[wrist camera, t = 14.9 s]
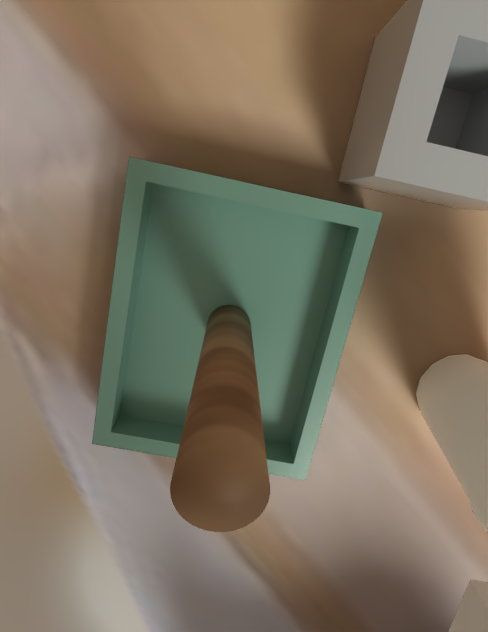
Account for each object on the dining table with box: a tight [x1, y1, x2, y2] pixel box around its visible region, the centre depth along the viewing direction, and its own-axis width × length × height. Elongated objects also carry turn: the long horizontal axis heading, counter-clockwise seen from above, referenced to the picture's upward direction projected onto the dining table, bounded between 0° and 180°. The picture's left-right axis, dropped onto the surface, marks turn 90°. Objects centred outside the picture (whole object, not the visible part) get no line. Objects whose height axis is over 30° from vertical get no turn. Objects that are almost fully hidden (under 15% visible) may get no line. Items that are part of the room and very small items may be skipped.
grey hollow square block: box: [338, 0, 488, 211], centre depth 24 cm, size 9×9×8 cm
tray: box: [92, 157, 383, 480], centre depth 30 cm, size 20×16×4 cm
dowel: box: [170, 305, 270, 532], centre depth 22 cm, size 3×3×18 cm
